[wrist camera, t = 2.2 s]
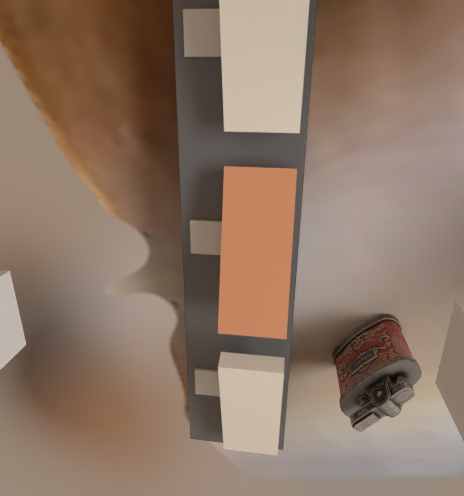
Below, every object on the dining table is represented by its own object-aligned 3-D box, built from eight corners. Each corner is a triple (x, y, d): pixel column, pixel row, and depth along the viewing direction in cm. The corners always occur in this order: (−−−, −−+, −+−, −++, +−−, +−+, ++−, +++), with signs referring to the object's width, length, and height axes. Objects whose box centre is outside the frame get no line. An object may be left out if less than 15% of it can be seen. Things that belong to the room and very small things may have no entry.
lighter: (384, 306, 40) (411, 372, 31) (407, 327, 41) (441, 398, 32) (325, 353, 43) (334, 425, 34) (347, 372, 44) (362, 448, 34)
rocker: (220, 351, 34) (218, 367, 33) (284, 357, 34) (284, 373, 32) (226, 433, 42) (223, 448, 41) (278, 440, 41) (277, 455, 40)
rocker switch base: (185, -127, 30) (157, -183, 23) (324, -136, 28) (333, -197, 22) (200, 405, 48) (186, 451, 42) (283, 414, 47) (282, 463, 41)
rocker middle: (227, 167, 32) (224, 166, 30) (296, 169, 31) (297, 168, 29) (221, 326, 33) (217, 333, 32) (286, 332, 33) (286, 339, 31)
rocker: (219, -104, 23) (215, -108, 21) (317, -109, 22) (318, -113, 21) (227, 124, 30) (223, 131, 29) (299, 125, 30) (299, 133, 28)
